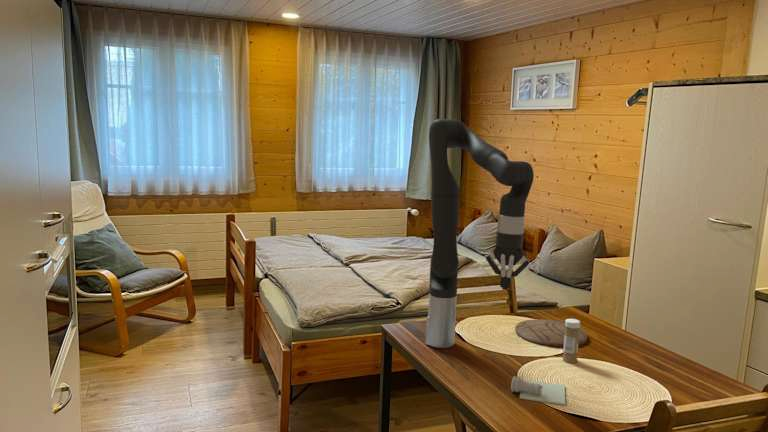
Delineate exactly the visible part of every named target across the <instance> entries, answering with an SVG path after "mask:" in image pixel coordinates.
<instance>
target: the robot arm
mask: <svg viewBox="0 0 768 432" xmlns="http://www.w3.org/2000/svg"><path fill="white" fill-rule="evenodd" d="M428 129H429V131H428V145H429V156H430V169H431V170H430V172H431V174H430V175H431V189H430V190H431V191H430V208H431V210H430V211H431V220H432V221H431V222H432V229H433V245H432V253H431V256H430V267H429V268H430V270H429V288H428V290H429V292H428V294H429V295H428V312H427V314H428V315H427V317H426V327H425V328H426V329H425V330H426V331H425V345H427V346H431V347H433V348H436V349H437V348H438V349H447V348H451V347H453V346H455V340H456V339H455V334H456V320H457V319H456V318H457V317H456V316H457V315H456V314H457V299H458V298H457V295H458V269H459V265H460V263H459V262H460V260H459V255H458V244H457V233H458V225H459V224H458V223H459V217H460V216H459V214H460V186H459V184H458V182H457V179H456V178H455V176H454V174H453V172H452V170H451V168H450V166H449V161H448V149H455V148H458V149H462V150H465V151H466V152H468V153H469V154H470V157H471V159H472V160H473V162H475V164H477V165H478V166H479V167H481V168H482V169H484V170H486V171H487V172H489V173H490V174H491V176H492V177H493V178H494V179H495V180H496V182H498V183H499V184H501V185H503V186H506V187H511V188H510V191H508V193H505V194H503V195H502V196H501V197H500V202H499V214H498V219H497V224H496V225H497V226H496V230H497V231H496V237H495V238H496V239H495V246H494V247H495V248H494V249H493V251H492V253H490V254H487V255H486V257H485V260H486V261H487V263H488V264H489V267H490V268H491V269H492V271H493V272H494V273H495V275H498V276H500V284H499V286H500V288H501V290H503V291H504V290H505V291H508V289H510V287H511V283H512V278H513V277H517V276H519V275H520V273H522V272H523V271H524V270H525V268H527V267H528V266H529V265H530V262H531V261H530V259H527V258H526V256H525V255H524V250H523V243H524V232H525V212H526V203H527V199H528V197H529V195H530V192H531V188H532V186H533V182H534V178H535V177H534V176H535V175H534V173H535V172H534V168H533V167H532V164H531V163H530V162H528V161H523V160H522V161H521V160H519V161H518V160H516V161H515V160H509V157H508V156H507V154H506V153H505V152H503V150H500V149H499V148H497V147H495V146H493V145H492V144H490V143H488V142H486V141H485V140H483V139H482V138H481V137H479V136H478V135H477V134H476V133H475V132H474V131H473V130H471V129H470V127H468V125H466V124H465V123H464V122H462V121H461V120H459V119H453V118H437V119H435V120H433V121H432V122H431V124H430V127H429V128H428ZM495 259H496V260H497V262H498V263H499V264H500V268H499V266H498V265H497V262H495ZM519 262H520V265H519V266H518V267H517V268H516V269H515V270H513V269H514V266H515V265H517V263H519Z"/></svg>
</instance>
